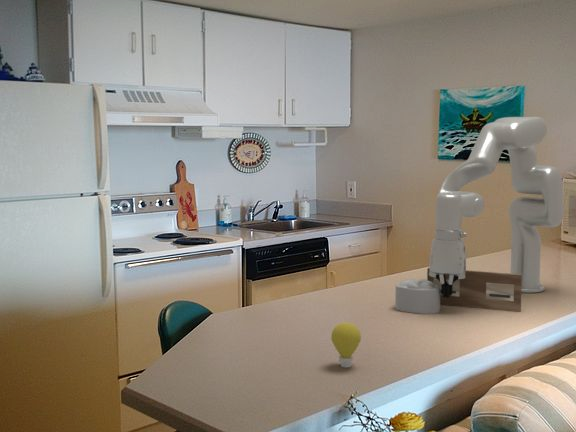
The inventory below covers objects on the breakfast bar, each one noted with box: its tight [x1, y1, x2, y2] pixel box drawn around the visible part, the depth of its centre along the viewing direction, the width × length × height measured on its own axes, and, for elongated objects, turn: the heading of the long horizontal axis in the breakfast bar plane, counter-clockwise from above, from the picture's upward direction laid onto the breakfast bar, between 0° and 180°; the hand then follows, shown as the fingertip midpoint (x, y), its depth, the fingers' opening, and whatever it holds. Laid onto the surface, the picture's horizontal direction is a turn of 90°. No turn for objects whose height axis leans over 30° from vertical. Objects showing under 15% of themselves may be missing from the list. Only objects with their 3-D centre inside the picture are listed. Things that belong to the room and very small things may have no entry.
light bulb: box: [330, 321, 362, 368], centre depth 157 cm, size 7×7×10 cm
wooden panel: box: [426, 267, 522, 313], centre depth 212 cm, size 2×28×11 cm, turn 66°
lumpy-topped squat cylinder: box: [394, 278, 441, 315], centre depth 209 cm, size 10×13×9 cm
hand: (446, 296), depth 205 cm, fingers closed
